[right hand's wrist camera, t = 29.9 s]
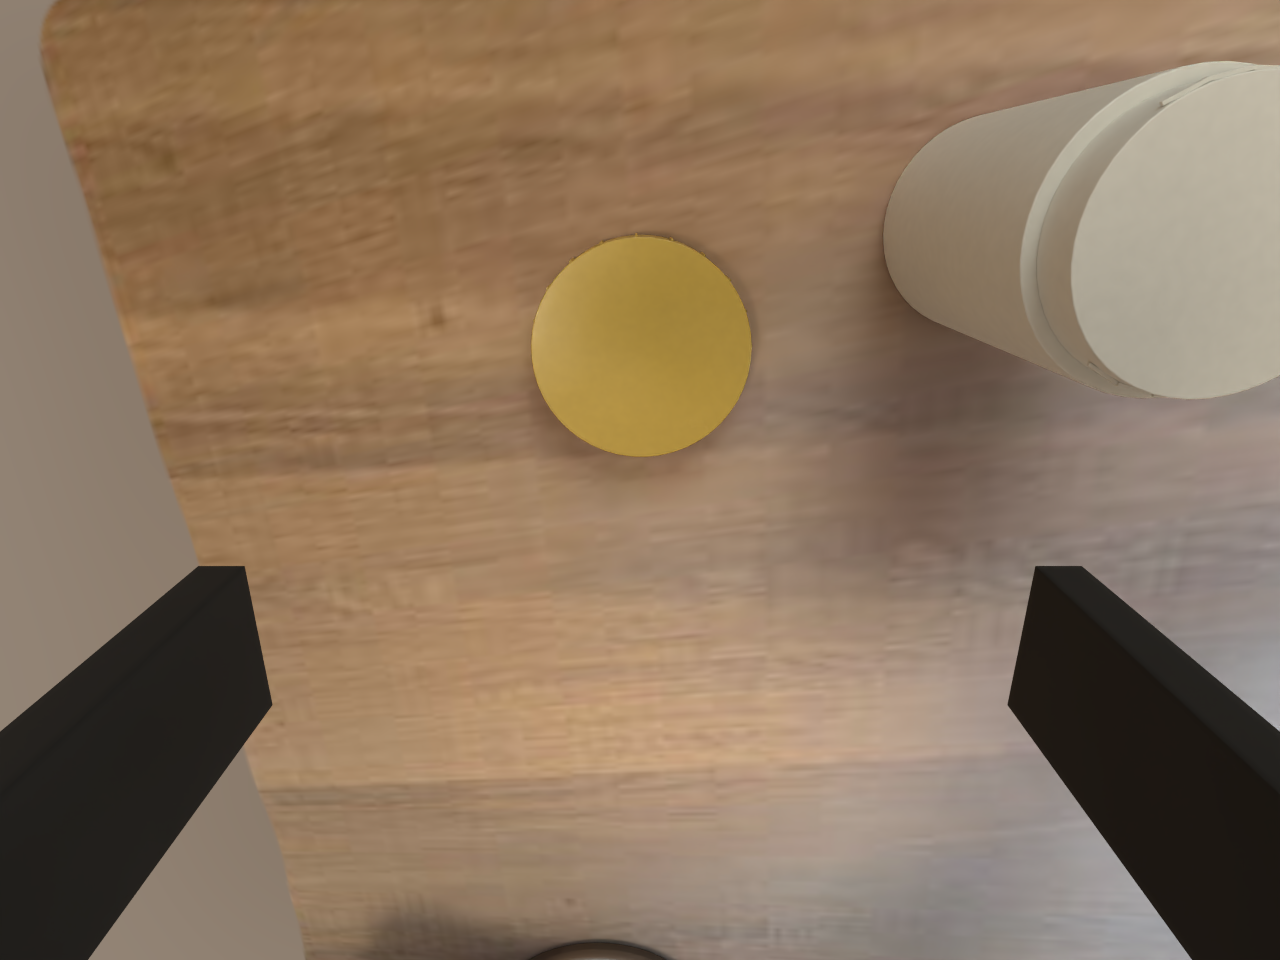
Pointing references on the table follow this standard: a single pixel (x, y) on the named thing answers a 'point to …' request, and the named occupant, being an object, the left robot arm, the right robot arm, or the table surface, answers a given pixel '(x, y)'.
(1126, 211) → the jar
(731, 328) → the lid
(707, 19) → the table surface
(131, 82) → the table surface
